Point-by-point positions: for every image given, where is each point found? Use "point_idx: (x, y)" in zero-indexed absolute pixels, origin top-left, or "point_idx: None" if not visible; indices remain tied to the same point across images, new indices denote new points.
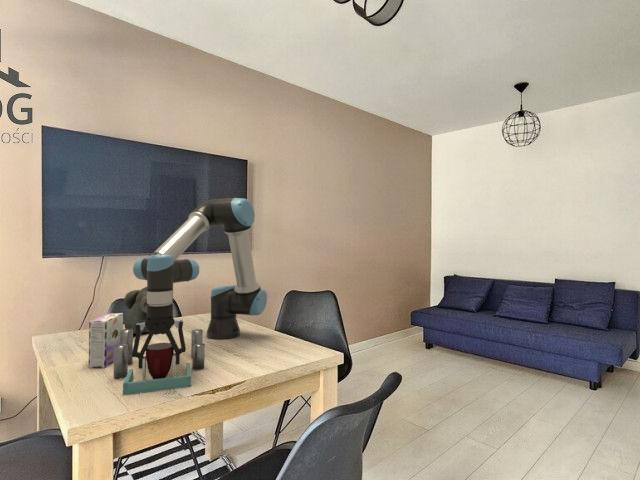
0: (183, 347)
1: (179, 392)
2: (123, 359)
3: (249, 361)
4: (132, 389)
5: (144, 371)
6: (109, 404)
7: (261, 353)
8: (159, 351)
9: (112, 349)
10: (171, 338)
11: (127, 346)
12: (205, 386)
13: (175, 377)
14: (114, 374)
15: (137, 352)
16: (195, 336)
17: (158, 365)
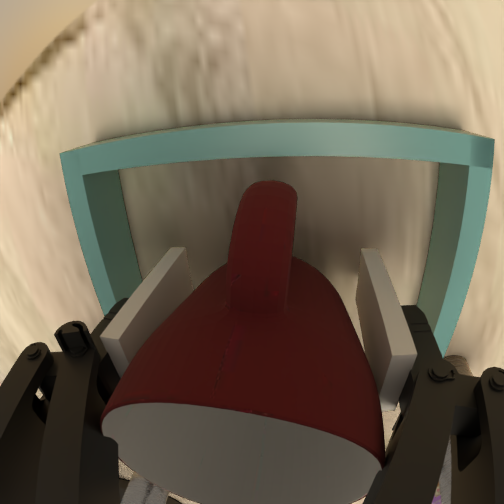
0: (21, 373)
1: (140, 62)
2: None
3: (4, 333)
4: (427, 126)
5: (375, 279)
6: (495, 34)
7: (8, 371)
8: (214, 380)
9: (436, 495)
10: (49, 496)
11: (449, 496)
12: (42, 128)
13: (140, 151)
14: (471, 373)
15: (459, 426)
16: (141, 501)
17: (244, 202)
